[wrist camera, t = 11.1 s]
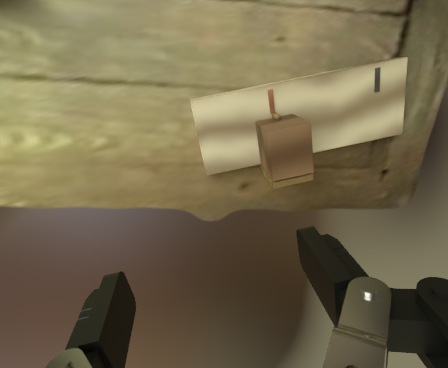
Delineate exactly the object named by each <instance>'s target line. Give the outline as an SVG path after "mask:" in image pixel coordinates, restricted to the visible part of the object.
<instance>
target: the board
mask: <svg viewBox="0 0 448 368" xmlns="http://www.w3.org/2000/svg"><path fill="white" fill-rule="evenodd" d="M407 59H408V57H397V58H392V59H387V60H382V61H377V62H372V63H367V64H362V65H357V66H353V67H348V68H343V69H338V70H333V71H328V72H323V73H318V74H313V75H308V76H303V77H298V78H293V79H288V80H284V81H279V82H274V83H269V84H264V85H259V86H254V87H249V88H244V89H239V90H234V91H229V92H224V93H219V94H215V95H210V96H205V97H200V98H195V99H190V102H191V107H192V112H193V116H194V121H195V125H196V130H197V134H198V139H199V143H200V148H201V152H202V157H203V161H204V166H205V170H206V175H212V174H217V173H221V172H226V171H231V170H235V169H240V168H245V167H249V166H254V165H259V164H261V161H260V153H259V146H258V139H257V131H256V124H255V121H260V120H265V119H270V118H273V117H272V113H273V112H276V113H278V114H279V115H280V116H284V115H289V114H294V115H296V116H298V117H300V118H302V119H304V120H306V121H308V122H310V123H311V130H312V147H313V153H315V152H320V151H324V150H329V149H334V148H338V147H343V146H348V145H352V144H357V143H362V142H366V141H371V140H376V139H380V138H385V137H390V136H394V135H399V134H402V132H403V117H404V103H405V88H406V74H407Z"/></svg>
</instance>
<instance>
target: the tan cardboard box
mask: <svg viewBox="0 0 448 368" xmlns="http://www.w3.org/2000/svg"><path fill="white" fill-rule="evenodd" d="M272 117H273V118H270V119H265V120H260V121H255V124H256V131H257V139H258V146H259V153H260V161H261V164H259V166H260V170H261V171H262V173H263V174H264V176H265V177H266V179H267V180H268V182H269V183H270V185H271V186H272V187H273V189H275V188H279V187H284V186H288V185H293V184H298V183H302V182H307V181H311V180H313V173H314V164H313V147H312V130H311V123H310V122H308V121H306V120H304V119H302V118H300V117H298V116H296V115H294V114H289V115H284V116H280V115H279V114H278V113H276V112H273V113H272Z"/></svg>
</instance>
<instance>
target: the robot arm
mask: <svg viewBox="0 0 448 368" xmlns="http://www.w3.org/2000/svg"><path fill="white" fill-rule="evenodd" d="M296 233H297V243H298V252H299V258H300V263H301V265H302V268H303V270H304V272H305V274H306V276H307V278H308V279H309V281H310V283H311V285H312V287H313V288H314V290H315V292H316V294H317V296H318V297H319V299H320V301H321V303H322V304H323V306H324V308H325V310H326V312H327V313H328V315H329V317H330V319H331V320H332V322H333V324H334V326H335V327H334V328H333V331H332V335H331V338H330V342H329V345H328V349H327V353H326V357H325V360H324V364H323V368H387V366H388V354H389V351H391V352H405V353H417V355H418V356H419V358H420V359H421V360H422V362H423V363H424V365H425V366H426V367H427V368H448V280H447V279H443V278H437V277H428V278H424V279H422V280H420V281H419V282H418V283H417V288H416V289H394V288H389V287H388V286H387V285H386V284H385V283H384V282H382V281H380V280H378V279H376V278H372V277H369V276H368V275H367V274H366V272H364V270H363V269H362V268H361V267H360V265H359V264H358V263H357V262H356V261H355V260H354V258H353V257H352V256H351V255H349V253H348V251H347V250H346V249H345V248H344V247H343V245H342V244H341V243H340V242H339V241H338V239H335V238H334V237H332V236H330V235H328V234H325V235H320V234H319V233H318V231H317V230H316V229H315V227H314V226H310V227H306V228H302V229H298V230H297V231H296ZM135 312H136V302H135V297H134V295H133V292H132V290H131V288H130V285H129V283H128V281H127V279H126V276H125V274H124V273H123V272H117V273H113V274H108V275H105V276H104V277H103V280H102V282H101V285H100V288H99V289H95V290H94V291H93V292H92V293H91V294H90V295H89V297H88V298H87V299H86V301H85V303H84V305H83V308H82V312H81V313H80V315H79V317H78V321H77V322H76V325H75V327H74V330H73V332H72V334H71V337H70V339H69V342H68V344H67V347H66V349H65V351H63V352H61V353H60V354H58V355H57V356H56V357H54V358H53V359H52V360H51V361H50V362H49V363H48V365H47V366H46V367H45V368H125V363H126V358H127V353H128V347H129V342H130V337H131V332H132V327H133V322H134V317H135Z"/></svg>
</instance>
